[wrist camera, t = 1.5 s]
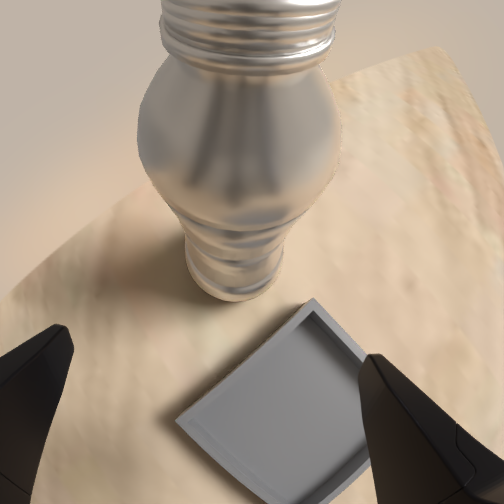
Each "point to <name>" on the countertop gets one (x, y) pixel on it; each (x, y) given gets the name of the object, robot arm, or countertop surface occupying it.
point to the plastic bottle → (241, 131)
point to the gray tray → (288, 413)
